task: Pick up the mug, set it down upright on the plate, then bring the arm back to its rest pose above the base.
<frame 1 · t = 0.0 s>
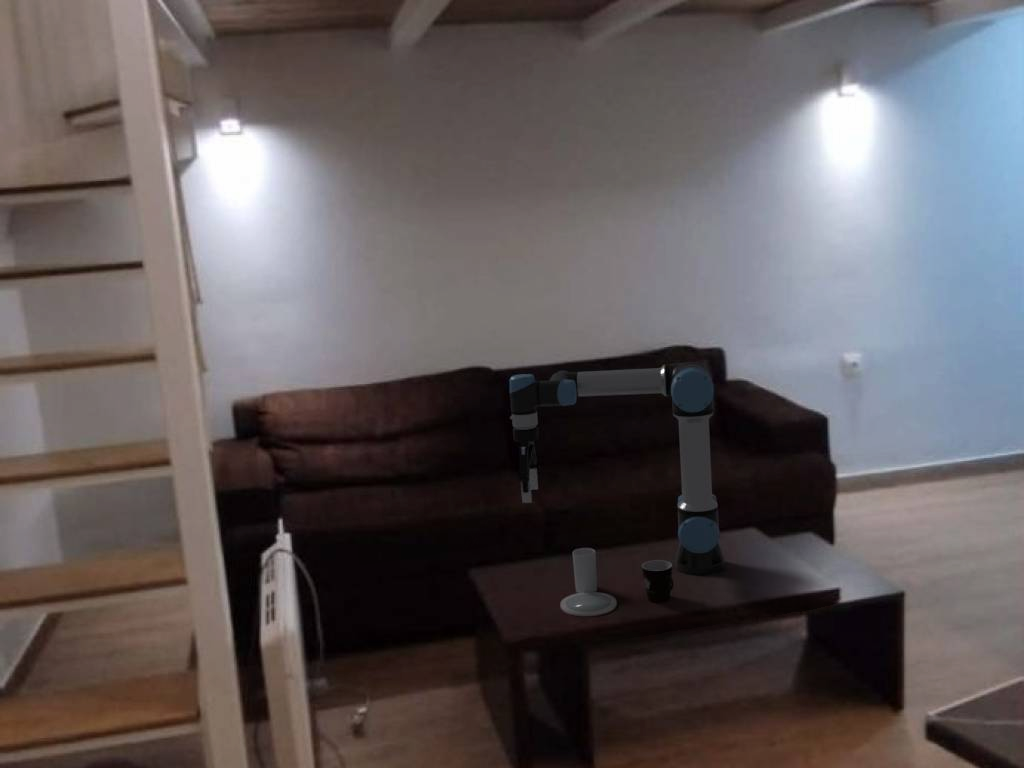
hand: (530, 495, 308), 28 cm above the table, fingers open, 13 cm apart
coffee mug: (659, 601, 293), on the table
mug: (585, 588, 307), on the table
plate: (588, 605, 294), on the table
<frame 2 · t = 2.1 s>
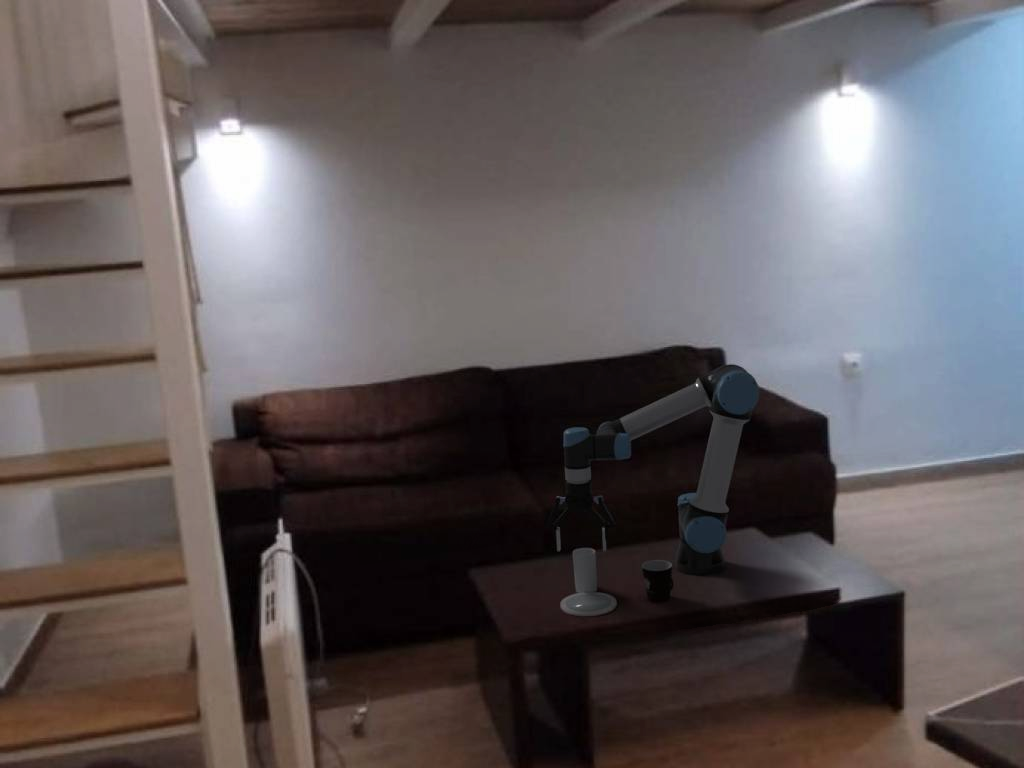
hand: (581, 549, 304), 12 cm above the table, fingers open, 13 cm apart
nothing on the table moved.
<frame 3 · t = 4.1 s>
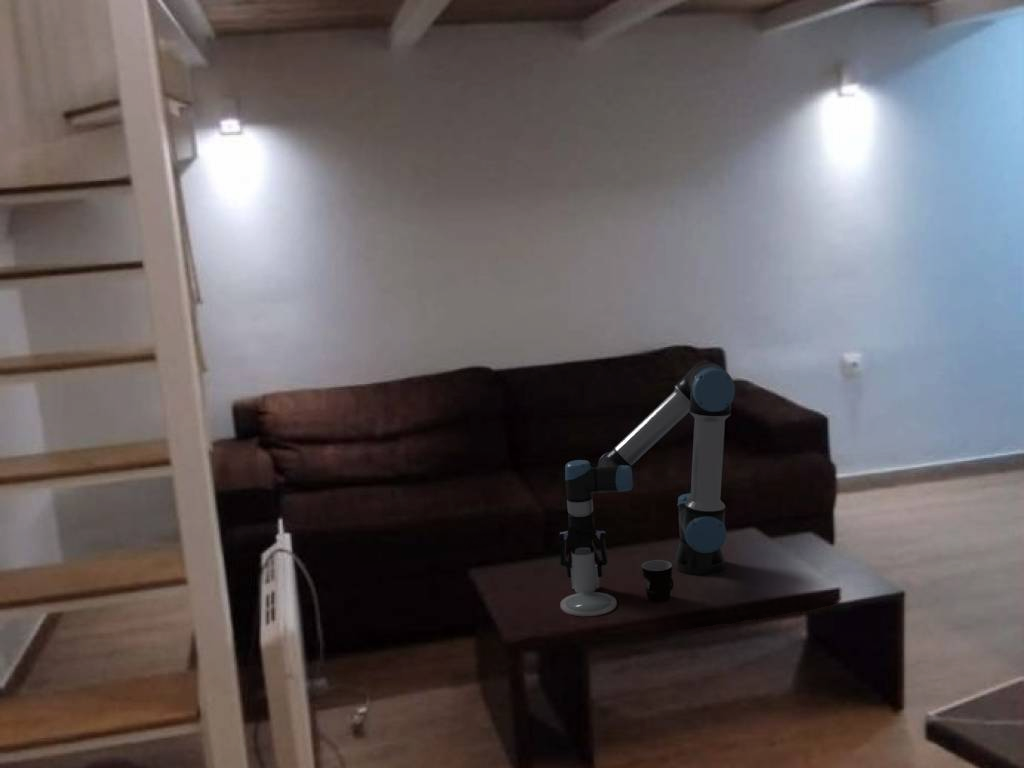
hand: (585, 586, 306), 0 cm above the table, fingers closed on mug, 6 cm apart
mug: (584, 588, 307), on the table, touching gripper
everything else where it was.
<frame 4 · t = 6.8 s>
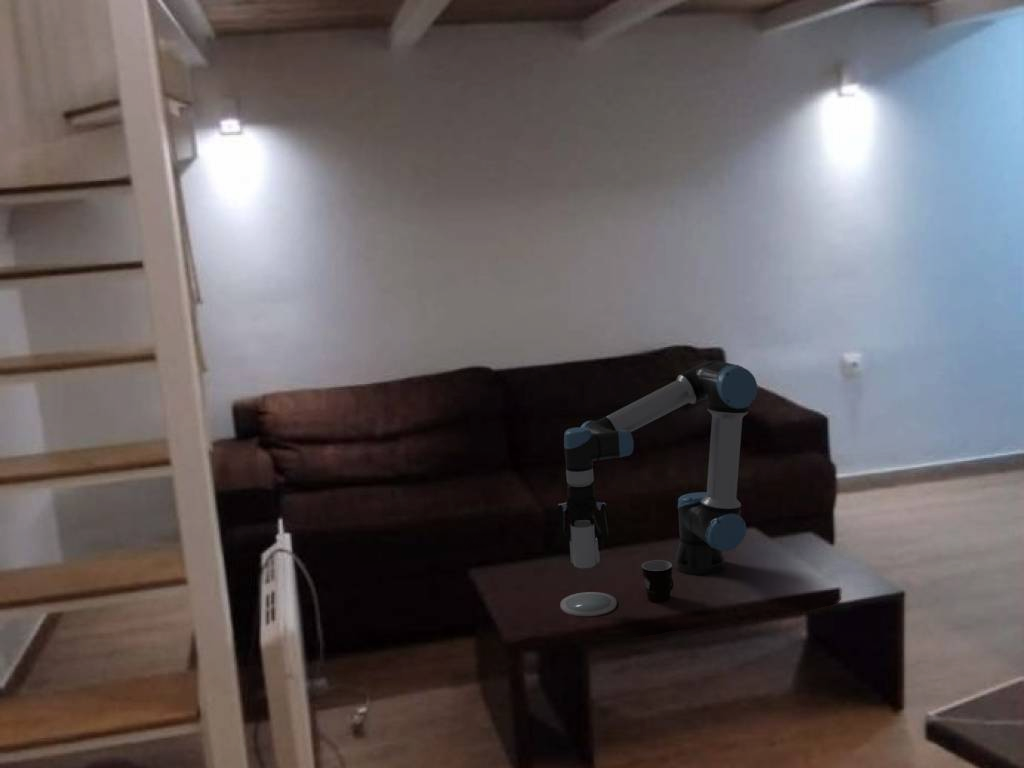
hand: (585, 561, 291), 13 cm above the table, fingers closed on mug, 6 cm apart
mug: (584, 563, 291), point 13 cm above the table, touching gripper
everything else where it was.
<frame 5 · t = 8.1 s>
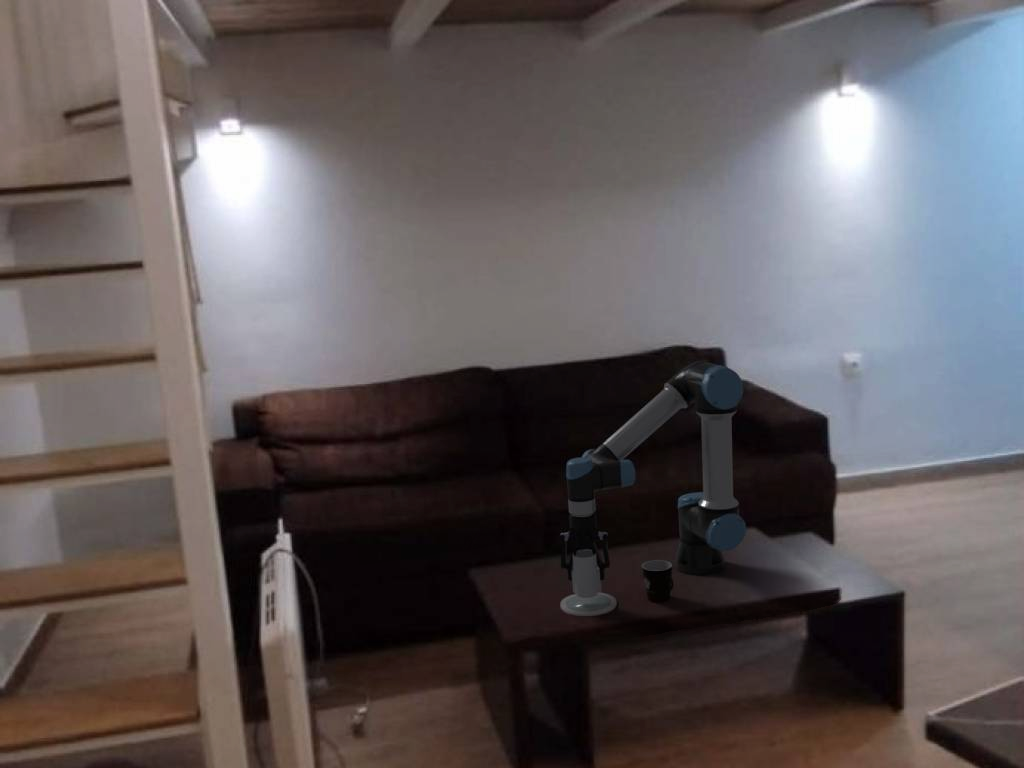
hand: (587, 590, 293), 4 cm above the table, fingers closed on mug, 6 cm apart
mug: (585, 592, 293), point 4 cm above the table, touching gripper
everything else where it was.
when the fingers open (3 cm above the table, at t = 9.3 s): mug drops 1 cm, resting on plate.
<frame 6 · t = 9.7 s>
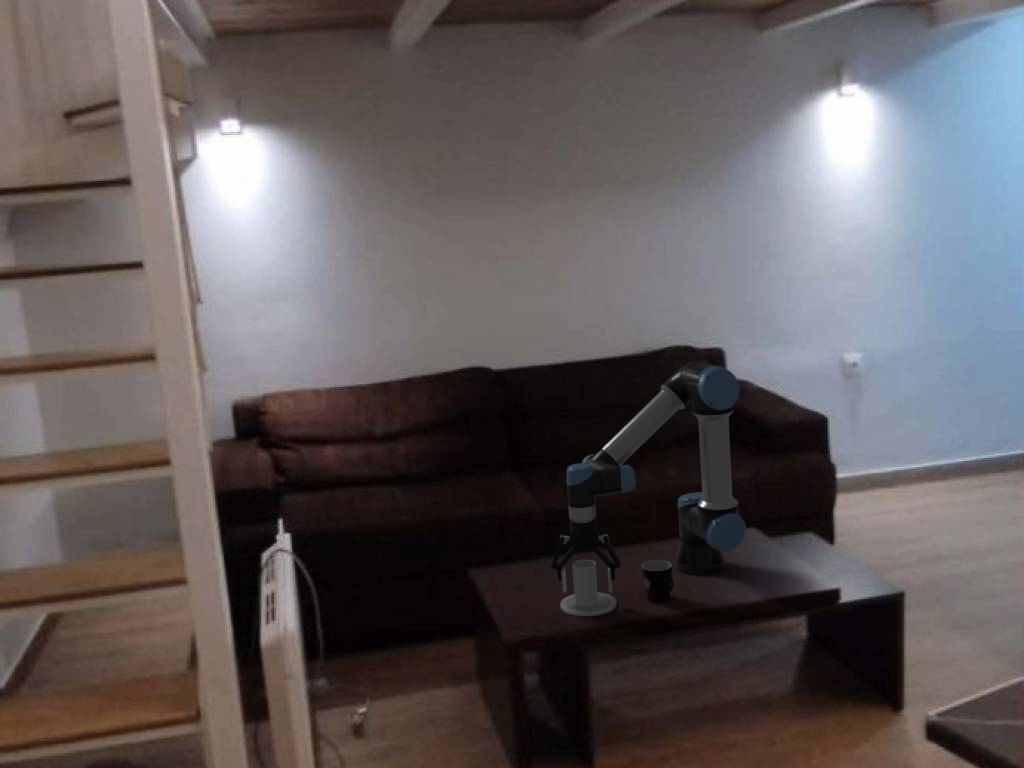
hand: (587, 590, 293), 4 cm above the table, fingers open, 12 cm apart
mug: (585, 602, 293), point 1 cm above the table, touching plate
everything else where it was.
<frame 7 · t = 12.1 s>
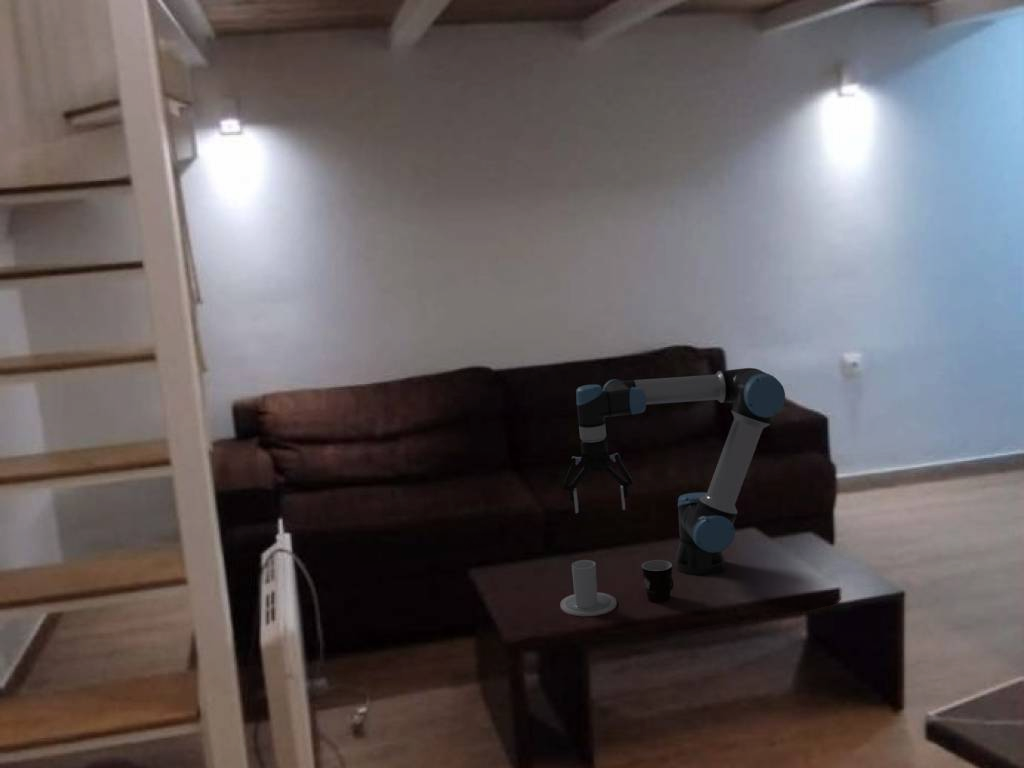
hand: (600, 510, 298), 25 cm above the table, fingers open, 13 cm apart
nothing on the table moved.
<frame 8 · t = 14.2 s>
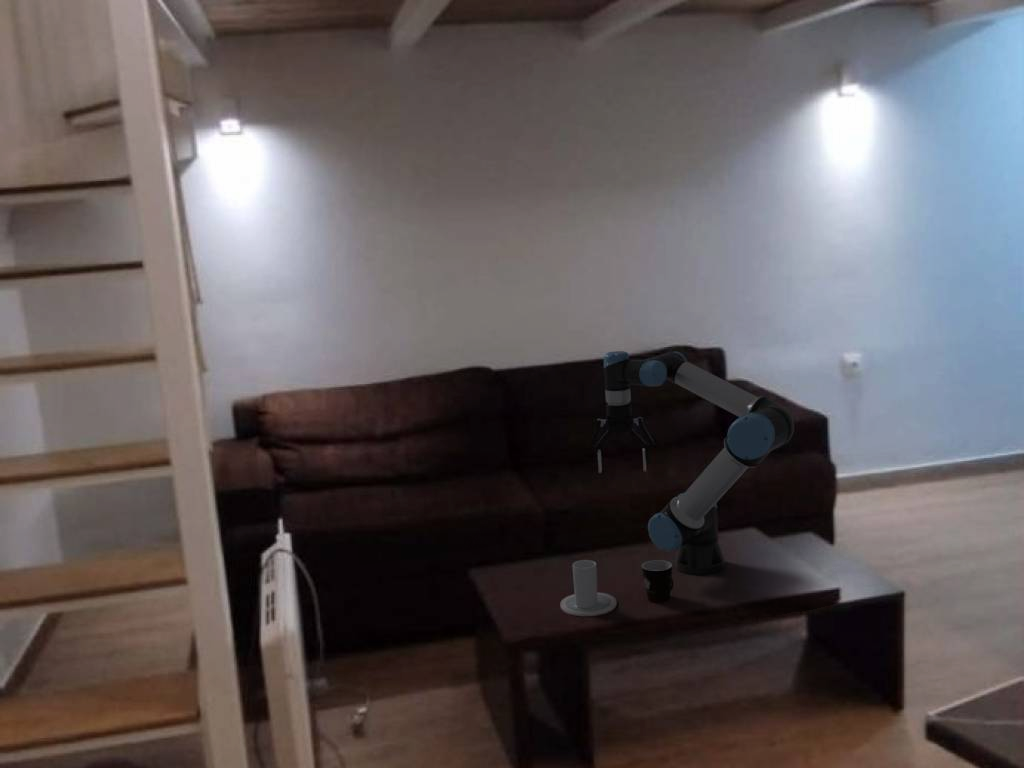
hand: (622, 470, 314), 32 cm above the table, fingers open, 13 cm apart
nothing on the table moved.
at the end: mug inside the target area on the plate (0.7 cm from its centre), point 0.7 cm above the plate's base; mug tilted 1°; the gripper is holding nothing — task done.
